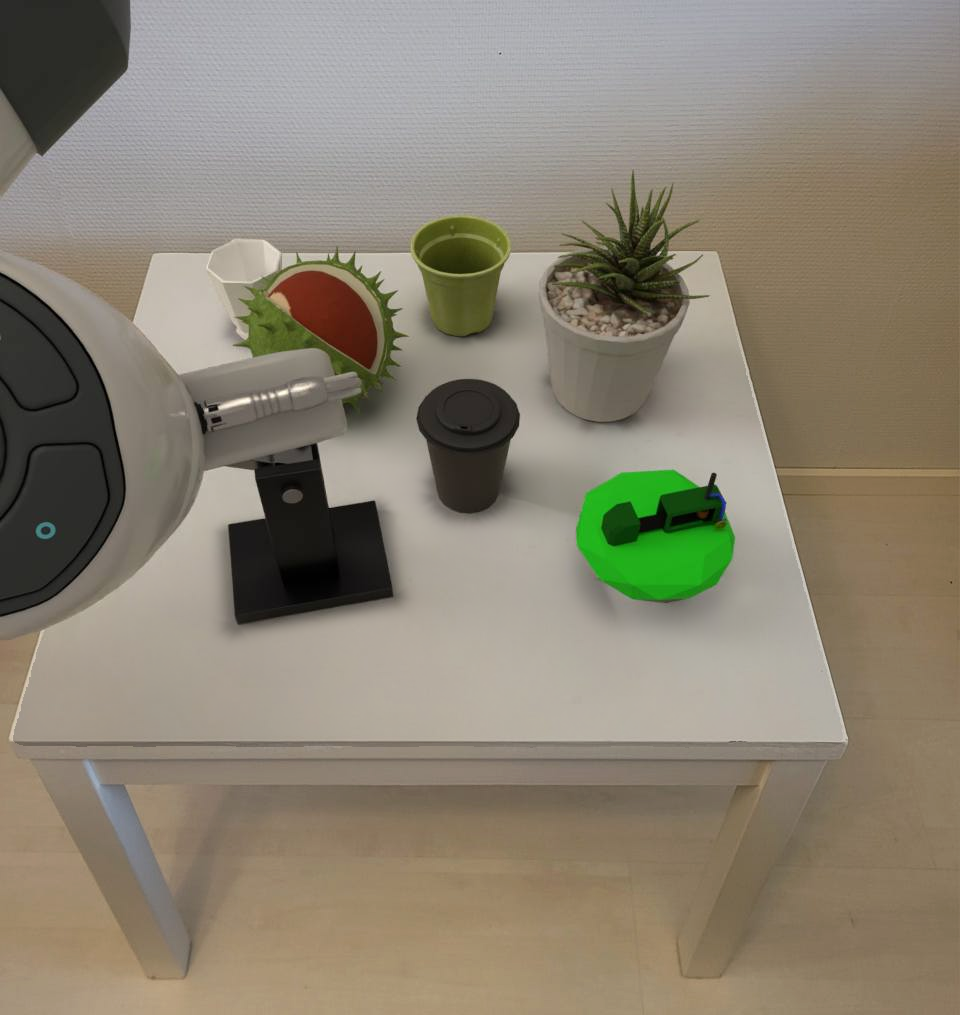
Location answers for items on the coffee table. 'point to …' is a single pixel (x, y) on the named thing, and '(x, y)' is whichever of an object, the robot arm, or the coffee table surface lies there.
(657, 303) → the potted plant
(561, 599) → the coffee table surface
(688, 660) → the coffee table surface
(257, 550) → the black lever stand
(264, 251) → the cup
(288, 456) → the tap lever
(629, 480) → the green rounded piece
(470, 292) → the plant pot
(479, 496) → the coffee cup
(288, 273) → the chestnut
